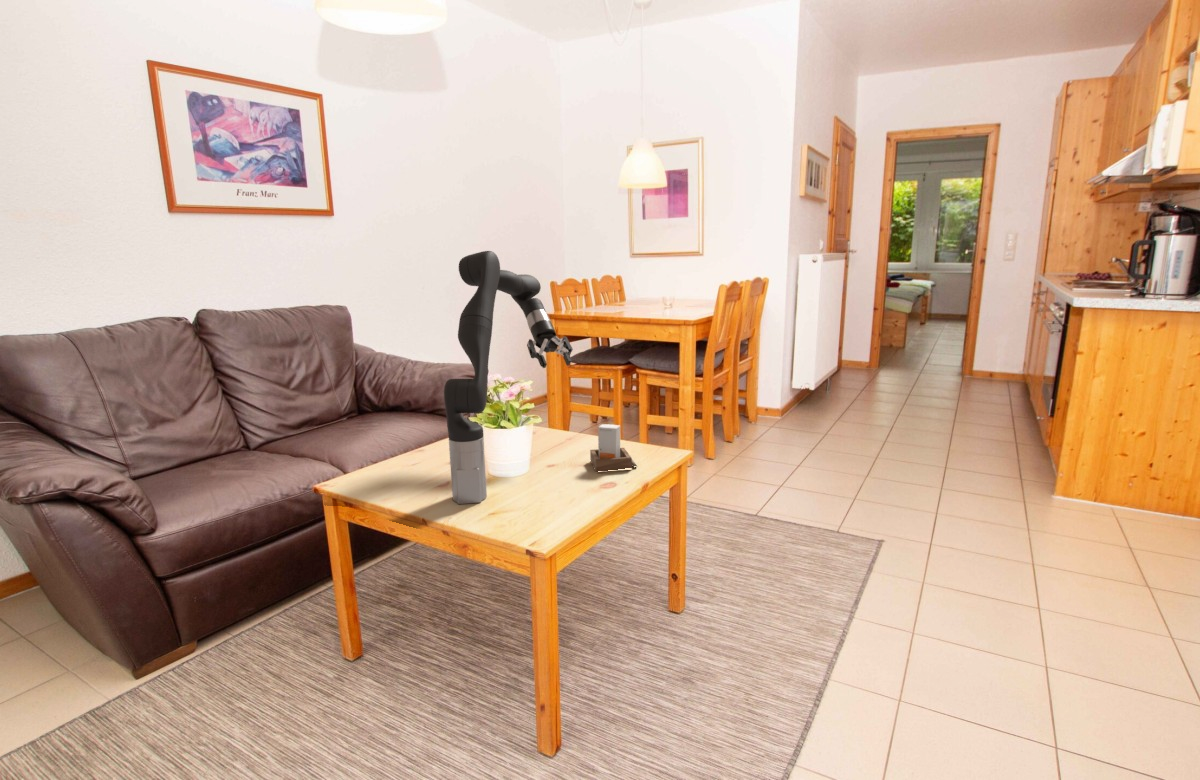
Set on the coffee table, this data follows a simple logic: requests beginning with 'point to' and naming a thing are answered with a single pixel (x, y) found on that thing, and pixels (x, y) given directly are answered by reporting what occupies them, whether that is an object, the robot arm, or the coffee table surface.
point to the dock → (611, 461)
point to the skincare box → (608, 441)
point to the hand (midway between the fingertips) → (557, 365)
